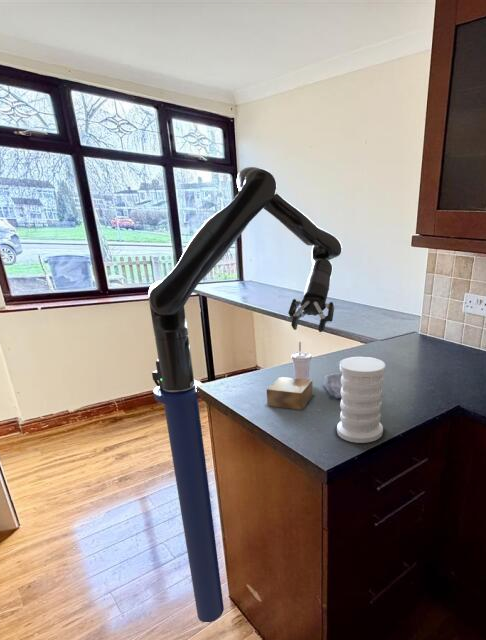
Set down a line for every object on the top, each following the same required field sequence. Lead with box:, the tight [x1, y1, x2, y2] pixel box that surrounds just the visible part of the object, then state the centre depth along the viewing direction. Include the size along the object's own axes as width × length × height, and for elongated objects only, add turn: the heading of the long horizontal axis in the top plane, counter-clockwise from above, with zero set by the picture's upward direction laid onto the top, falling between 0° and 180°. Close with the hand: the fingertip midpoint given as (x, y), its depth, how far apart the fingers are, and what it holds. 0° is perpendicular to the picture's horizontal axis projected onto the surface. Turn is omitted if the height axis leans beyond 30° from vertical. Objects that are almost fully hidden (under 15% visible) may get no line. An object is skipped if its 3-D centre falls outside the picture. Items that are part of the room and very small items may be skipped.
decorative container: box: [336, 356, 387, 444], centre depth 99 cm, size 12×12×18 cm
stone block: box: [323, 373, 342, 400], centre depth 125 cm, size 12×5×10 cm
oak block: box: [266, 376, 313, 411], centre depth 116 cm, size 10×10×5 cm
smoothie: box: [290, 341, 313, 380], centre depth 127 cm, size 6×6×14 cm
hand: (307, 329), depth 129 cm, fingers open, 8 cm apart
